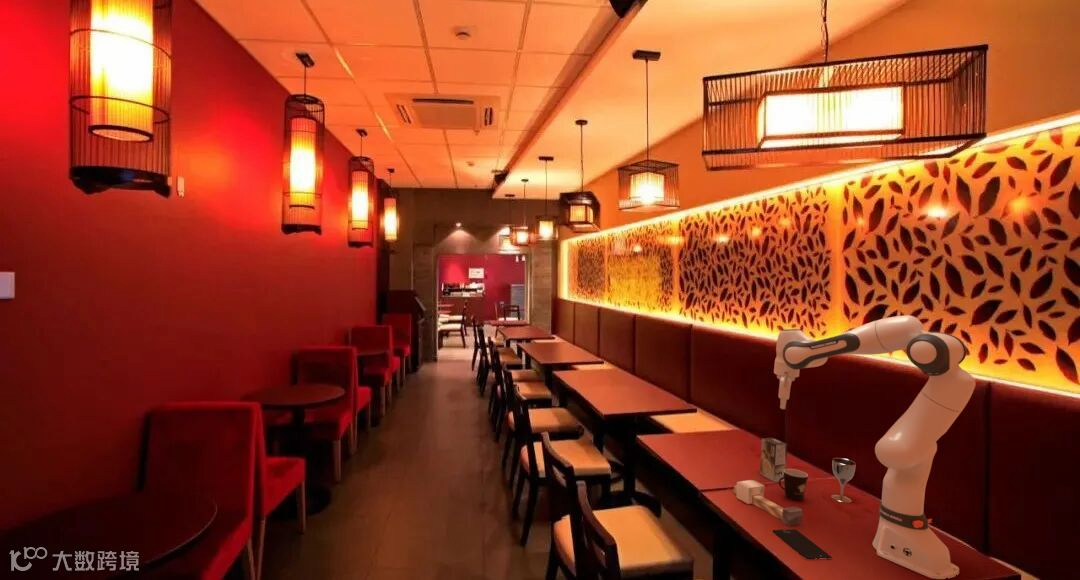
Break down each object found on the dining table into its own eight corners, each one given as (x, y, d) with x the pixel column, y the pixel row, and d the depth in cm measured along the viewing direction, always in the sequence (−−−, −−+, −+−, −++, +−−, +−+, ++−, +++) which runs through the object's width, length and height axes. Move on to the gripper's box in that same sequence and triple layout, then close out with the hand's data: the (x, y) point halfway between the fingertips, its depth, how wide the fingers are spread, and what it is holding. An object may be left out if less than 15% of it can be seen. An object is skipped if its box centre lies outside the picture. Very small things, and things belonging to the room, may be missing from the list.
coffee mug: (801, 494, 211) (802, 469, 211) (809, 503, 202) (811, 478, 202) (771, 491, 212) (772, 467, 212) (778, 500, 204) (780, 475, 203)
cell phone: (795, 531, 180) (795, 529, 180) (832, 560, 162) (832, 557, 162) (771, 532, 178) (772, 529, 178) (806, 561, 161) (806, 558, 161)
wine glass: (833, 501, 206) (836, 463, 205) (827, 493, 214) (829, 456, 213) (855, 504, 204) (858, 466, 204) (849, 496, 212) (851, 459, 211)
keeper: (763, 501, 202) (764, 485, 202) (747, 504, 199) (748, 488, 198) (751, 495, 207) (752, 479, 207) (735, 497, 204) (736, 481, 204)
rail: (801, 523, 185) (802, 509, 185) (789, 526, 182) (789, 512, 182) (742, 491, 211) (742, 479, 210) (730, 493, 208) (731, 481, 208)
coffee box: (786, 481, 224) (788, 444, 224) (773, 482, 222) (776, 444, 222) (770, 473, 233) (773, 437, 233) (758, 474, 231) (761, 438, 231)
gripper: (795, 376, 191) (791, 413, 192) (795, 367, 209) (792, 401, 210) (776, 373, 194) (772, 410, 195) (778, 365, 212) (775, 398, 213)
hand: (783, 405), depth 203 cm, fingers open, 8 cm apart
